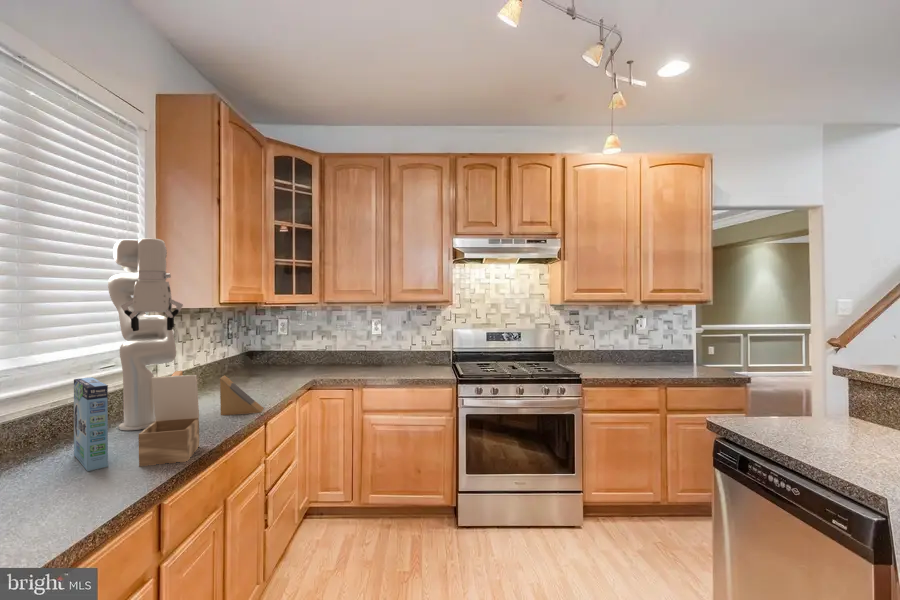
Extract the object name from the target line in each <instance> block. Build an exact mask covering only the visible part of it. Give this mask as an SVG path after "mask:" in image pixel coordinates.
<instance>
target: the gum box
mask: <svg viewBox="0 0 900 600" xmlns="http://www.w3.org/2000/svg"><path fill="white" fill-rule="evenodd" d="M108 388H109V385H108V384H106V383H104V382H102V381H100V380H99V379H97V378H94V377H93V376H92V377H83V378H75V379H73V455H74V458H76V459H77V460H78V462H79V463H80V464H81V465H82V467H83V468H84V469H85V471H86V472H87V473H88V472H93V471H97V469H98V470H101V469H106V468H108V467H109V454H108V453H109V452H108V451H109V450H108V449H109V448H108V445H109V436H108V435H109V434H108V433H109V432H108V431H109V430H108V429H109V428H108V427H109V422H108V420H109V418H108V417H109V416H108V414H109V412H108V409H109V407H108V400H109V399H108V392H109V391H108V390H109V389H108Z"/></svg>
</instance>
